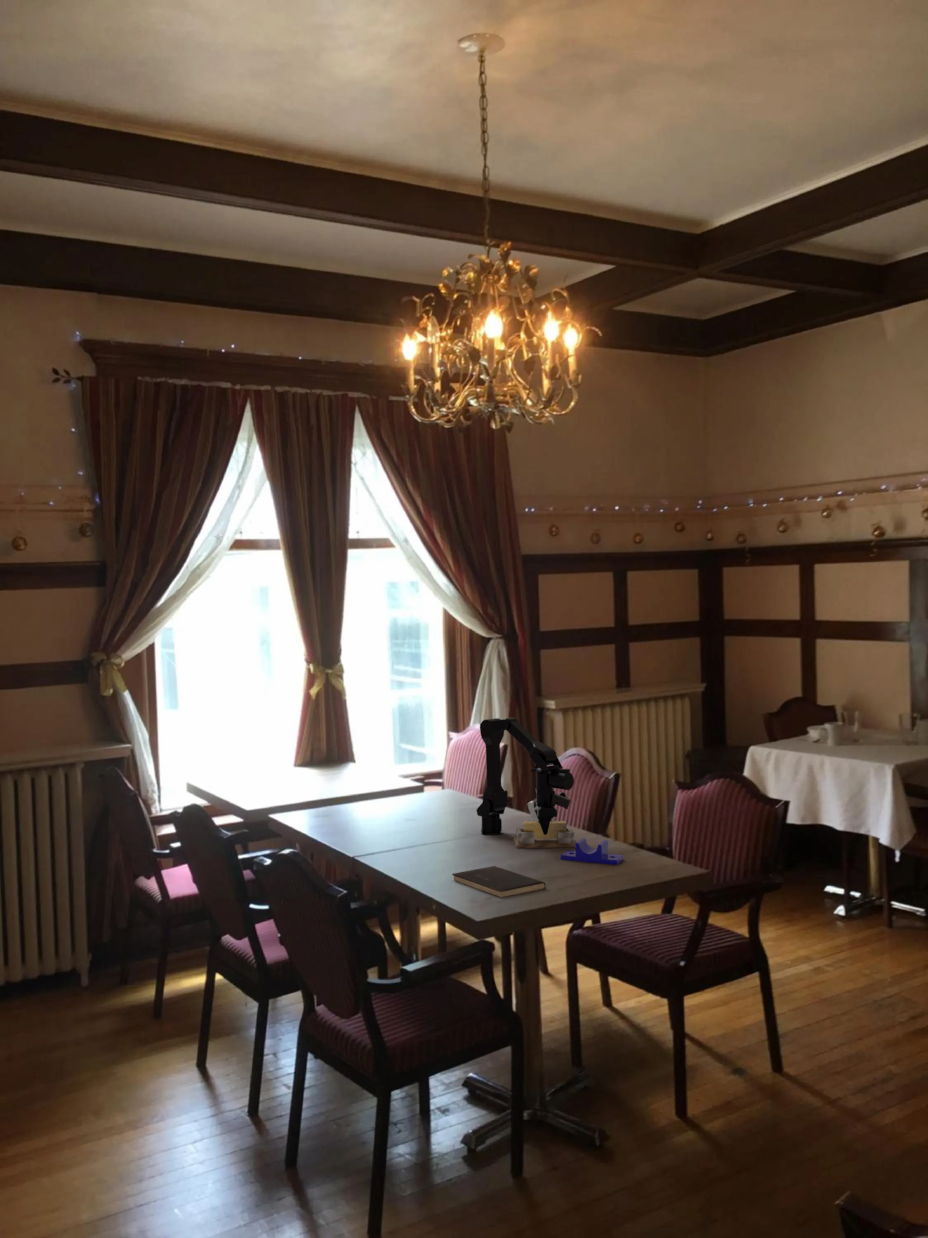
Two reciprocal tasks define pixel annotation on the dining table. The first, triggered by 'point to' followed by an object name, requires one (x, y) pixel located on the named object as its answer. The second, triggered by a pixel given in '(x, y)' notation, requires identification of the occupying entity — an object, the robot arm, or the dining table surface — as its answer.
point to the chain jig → (543, 839)
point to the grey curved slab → (532, 812)
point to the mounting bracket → (592, 853)
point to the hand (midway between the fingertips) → (544, 833)
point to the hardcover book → (498, 881)
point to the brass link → (552, 831)
